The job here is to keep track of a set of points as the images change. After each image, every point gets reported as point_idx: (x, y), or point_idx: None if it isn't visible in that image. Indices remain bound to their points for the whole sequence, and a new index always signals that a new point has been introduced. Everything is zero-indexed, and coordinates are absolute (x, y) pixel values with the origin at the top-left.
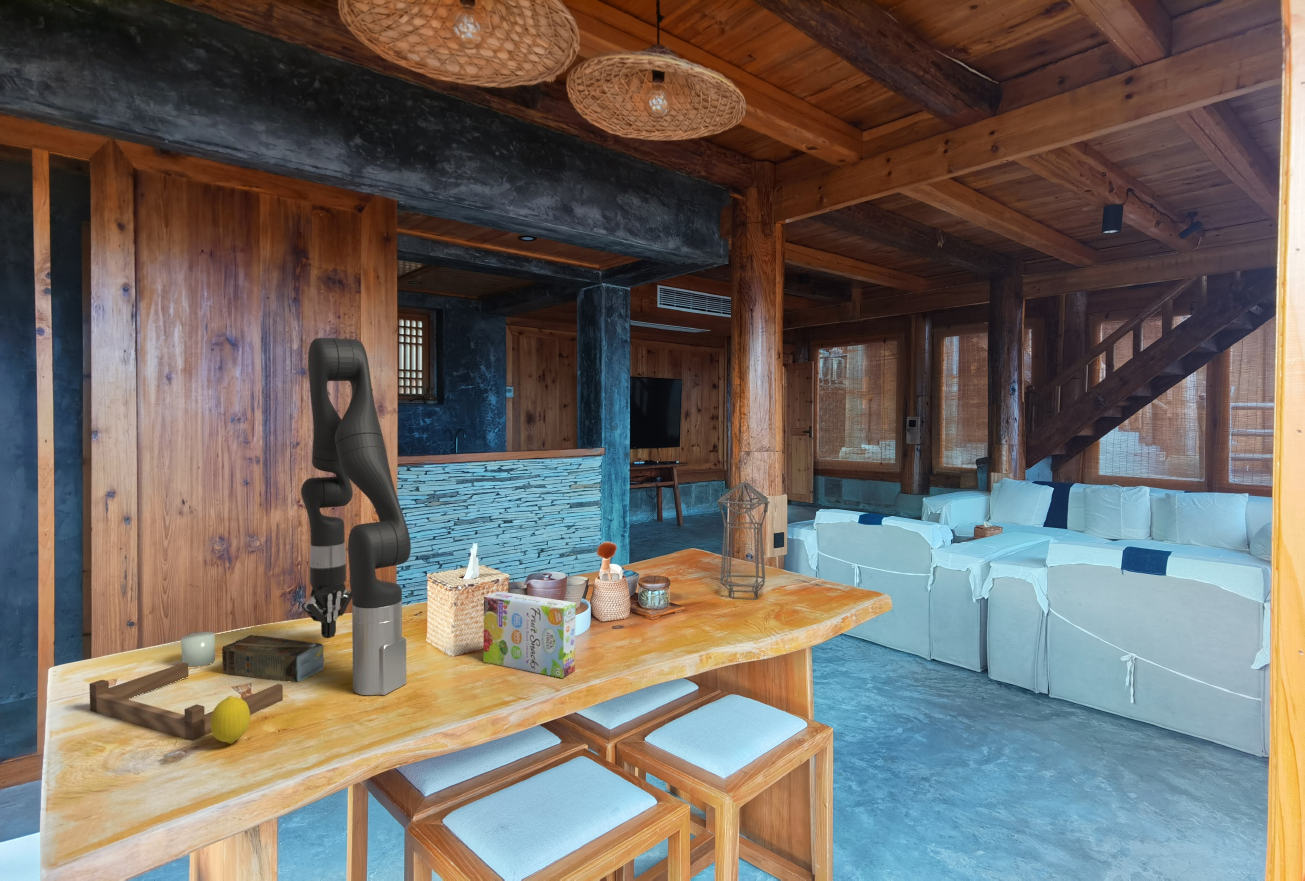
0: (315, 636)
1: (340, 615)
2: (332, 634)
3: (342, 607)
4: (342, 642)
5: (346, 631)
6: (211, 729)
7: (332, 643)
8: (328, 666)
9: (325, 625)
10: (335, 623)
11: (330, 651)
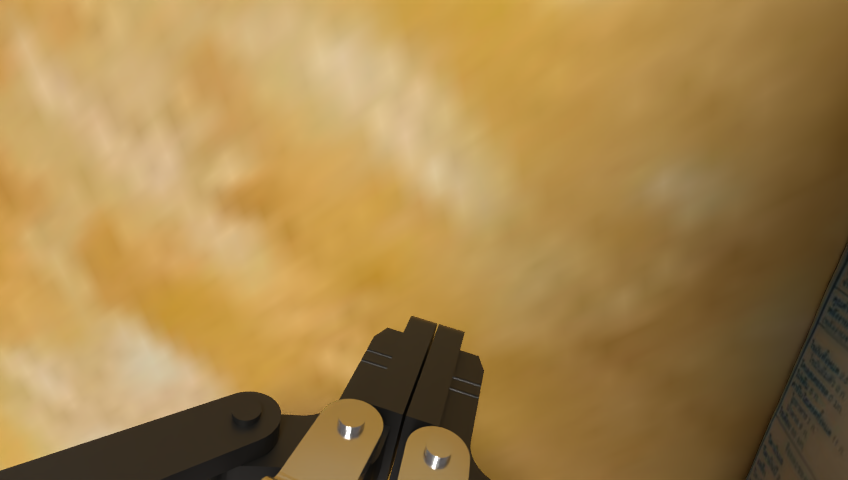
0: None
1: (277, 404)
2: (430, 331)
3: (188, 468)
4: (308, 281)
5: (151, 351)
6: None
7: (341, 331)
8: (826, 97)
9: (469, 437)
10: (352, 384)
11: (479, 269)
